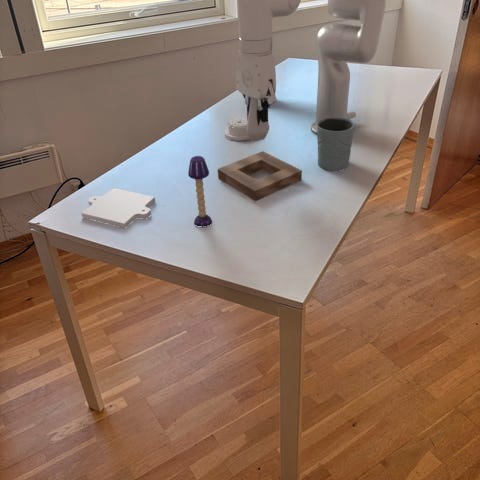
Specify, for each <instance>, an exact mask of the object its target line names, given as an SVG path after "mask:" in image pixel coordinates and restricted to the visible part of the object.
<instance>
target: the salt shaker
mask: <svg viewBox="0 0 480 480" xmlns="http://www.w3.org/2000/svg"><path fill="white" fill-rule="evenodd" d="M249 97H250V96H249ZM263 102H264V99H263V100H262V103H263ZM249 107H250V108H249V115H248V121H247V128H246V130H247V133H248V134H249V136H250V138H251V139H250V140H251V141H252V140H253V141H257V142H258V141H265V139H266V137H267V135H268V134H269V131H270V125H269V121H268V122H267V121H266V122H262V121H261V119H260V123H259V126H258V122H257V110H258V100H257V99H255V98H252V97H250V106H249Z"/></svg>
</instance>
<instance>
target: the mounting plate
mask: <svg viewBox="0 0 480 480" xmlns="http://www.w3.org/2000/svg"><path fill="white" fill-rule="evenodd" d="M155 197H156V196H152V195H147V194H142V193H138V192H134V191H129V190H124V189H119V188H115V187H114V188H112V189H110V190H109V191H108V192H106V193H105V194H104V195H101V196H99V195H94V196H91V197H90V198H88V200H87V202H88V207H87V208H86V209H84V210H82V212H80V213H81V217H84V218H88V219H92V220H96V221H100V222H103V223H102V224H104V223H108V224H111V225H110V226H112V225H115V226H114V227H116V226H119V227H118V228H120V227H124V228H125V227H127V226H128V225H129V224H130V223H131V222H132V221H134V220H135V219H136V218H143V219H142V220H147V219H146V218H148V217H149V216H150V215H151V216H152V212H151V210H152V209H151V207H152V206H153V205H154V204H155V203H156V198H155ZM150 206H151V207H150ZM151 216H150V217H151ZM150 217H149V218H150ZM84 218H83V219H84ZM149 218H148V219H149ZM88 219H87V220H88ZM92 220H91V221H92ZM136 220H137V219H136ZM136 220H135V221H136ZM96 221H95V222H96ZM135 221H134V222H135ZM100 222H99V223H100ZM108 224H107V225H108ZM131 224H132V223H131ZM131 224H130V225H131ZM130 225H129V226H130ZM129 226H128V227H129ZM128 227H127V228H128ZM124 228H123V229H124Z"/></svg>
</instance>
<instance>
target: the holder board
mask: <svg viewBox="0 0 480 480" xmlns="http://www.w3.org/2000/svg"><path fill="white" fill-rule="evenodd" d="M261 170H262V171H264V172H266V173H268V174H269V175H267V176H265V177H262V178H260V179H255V178H254V177H251V176H250V175H251V174H254V173H256V172H259V171H261ZM302 172H303V171H302V170H301V169H300V168H298V167H296V166H293V165H292V164H290V163H288V162H285V161H284V160H282V159H279V158H278V157H276V156H274V155H272V154H270V153H268V152H266V151H263V150H262V151H260V152H258V153H255V154H252V155H249V156H247V157H245V158H243V159H239V160H236V161H235V162H232V163H230V164H227V165H225V166H222V167H219V168H217V177H218V180H220V181H221V182H223V183H224V184H226V185H227V186H230V187H231V188H233V189H234V190H236V191H238V192H240V193H241V194H242V195H244V196H246V197H247V198H249V199H251V200H252V201H254V202H257V201H260V200H261V199H264V198H266V197H268V196H271V195H273V194H274V193H277V192H279V191H282V190H284V189H286V188H288V187H290V186H292V185H294V184H296V183H299V182H301V181H302V179H303V178H302V177H303V176H302V175H303V173H302Z"/></svg>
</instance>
